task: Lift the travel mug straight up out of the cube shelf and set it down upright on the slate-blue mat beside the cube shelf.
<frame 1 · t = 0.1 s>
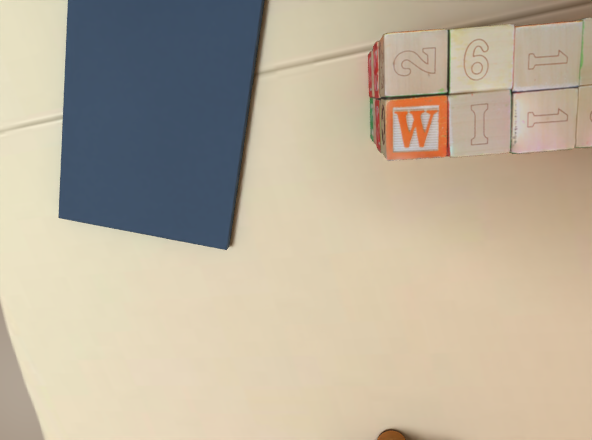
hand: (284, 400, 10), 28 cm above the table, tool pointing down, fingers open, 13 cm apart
mat: (158, 108, 37), on the table
stack of blocks: (515, 88, 34), on the table
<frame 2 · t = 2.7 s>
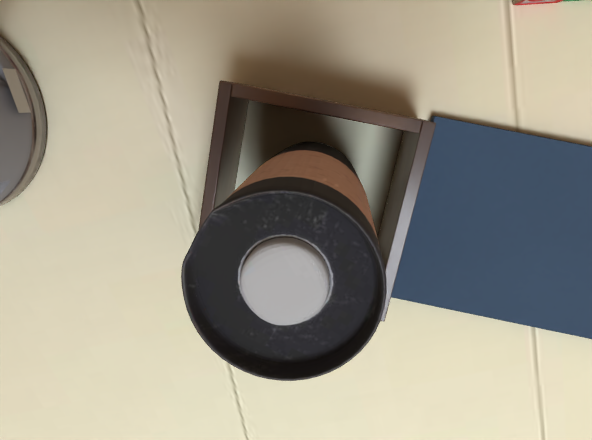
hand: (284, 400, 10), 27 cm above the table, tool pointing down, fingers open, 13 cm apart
travel mug: (311, 188, 36), resting in cube shelf
cube shelf: (311, 188, 36), on the table
mat: (538, 234, 36), on the table
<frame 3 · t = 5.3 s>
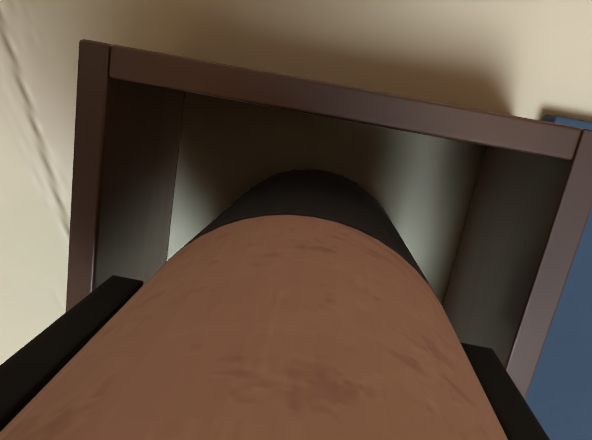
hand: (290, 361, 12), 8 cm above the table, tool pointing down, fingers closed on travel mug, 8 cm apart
travel mug: (308, 252, 20), resting in cube shelf, touching gripper
cube shelf: (308, 254, 19), on the table
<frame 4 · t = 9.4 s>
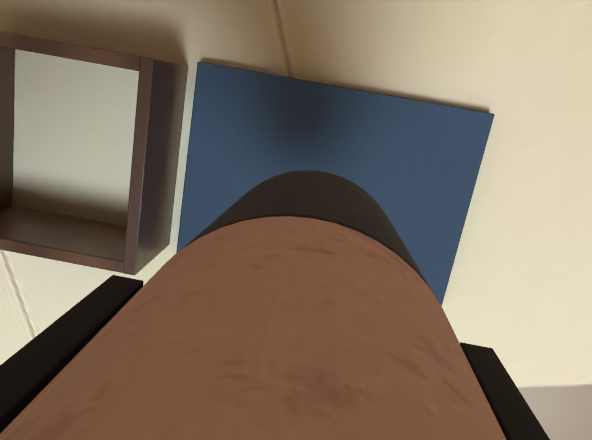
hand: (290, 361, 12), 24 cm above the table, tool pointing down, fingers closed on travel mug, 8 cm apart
travel mug: (308, 253, 20), point 15 cm above the table, touching gripper
cube shelf: (90, 143, 35), on the table
mat: (325, 186, 34), on the table
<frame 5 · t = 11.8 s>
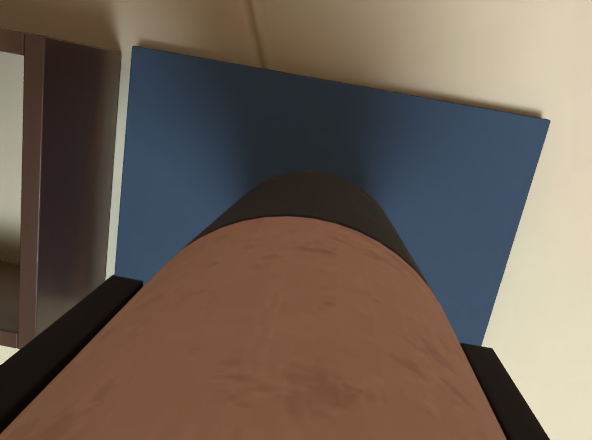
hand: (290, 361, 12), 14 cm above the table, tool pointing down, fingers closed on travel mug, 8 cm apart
travel mug: (308, 253, 20), point 6 cm above the table, touching gripper
mat: (312, 218, 25), on the table
when the fingers open (9 cm above the table, at t = 13.6 s): travel mug stays where it is, resting on mat.
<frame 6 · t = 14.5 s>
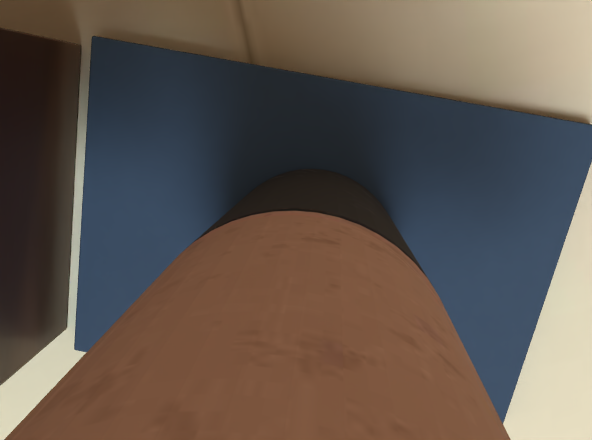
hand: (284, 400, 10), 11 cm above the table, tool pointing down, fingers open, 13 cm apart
travel mug: (311, 249, 20), point 1 cm above the table, touching mat
mat: (311, 243, 21), on the table
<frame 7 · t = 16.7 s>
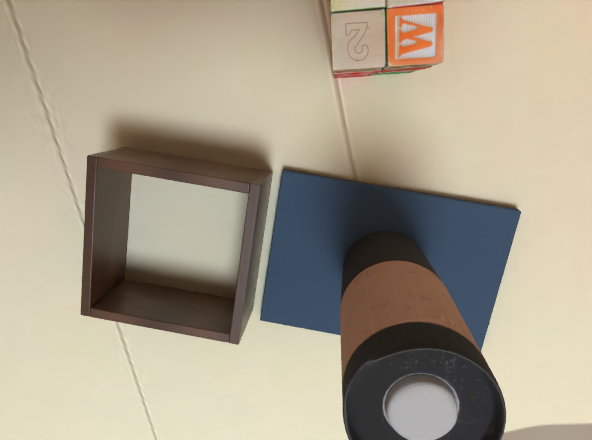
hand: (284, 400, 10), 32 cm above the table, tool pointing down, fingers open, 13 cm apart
travel mug: (383, 268, 41), point 1 cm above the table, touching mat
cube shelf: (190, 231, 43), on the table
mat: (382, 265, 42), on the table
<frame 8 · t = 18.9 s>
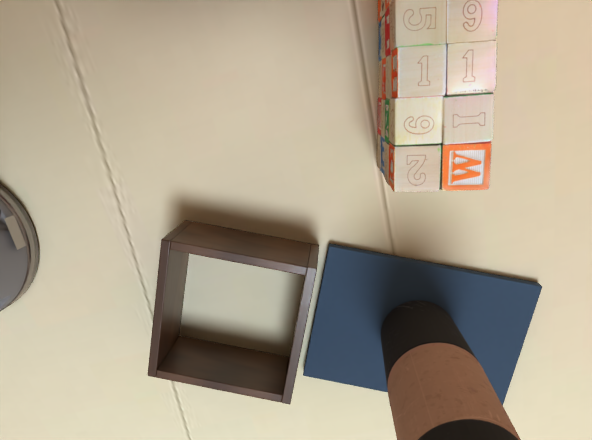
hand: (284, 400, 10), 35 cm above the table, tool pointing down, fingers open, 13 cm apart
travel mug: (417, 332, 46), point 1 cm above the table, touching mat
cube shelf: (242, 294, 47), on the table
mat: (415, 328, 47), on the table
stack of blocks: (413, 41, 40), on the table
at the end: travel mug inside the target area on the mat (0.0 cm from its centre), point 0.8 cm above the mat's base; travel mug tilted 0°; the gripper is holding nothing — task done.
